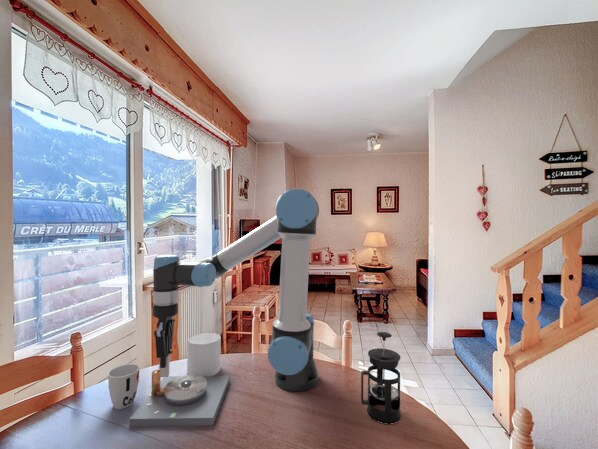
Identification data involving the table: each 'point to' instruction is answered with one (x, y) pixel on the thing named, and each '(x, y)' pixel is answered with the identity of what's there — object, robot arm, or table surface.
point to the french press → (382, 384)
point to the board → (182, 406)
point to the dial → (180, 388)
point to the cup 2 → (204, 354)
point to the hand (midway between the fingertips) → (164, 375)
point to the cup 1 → (123, 385)
